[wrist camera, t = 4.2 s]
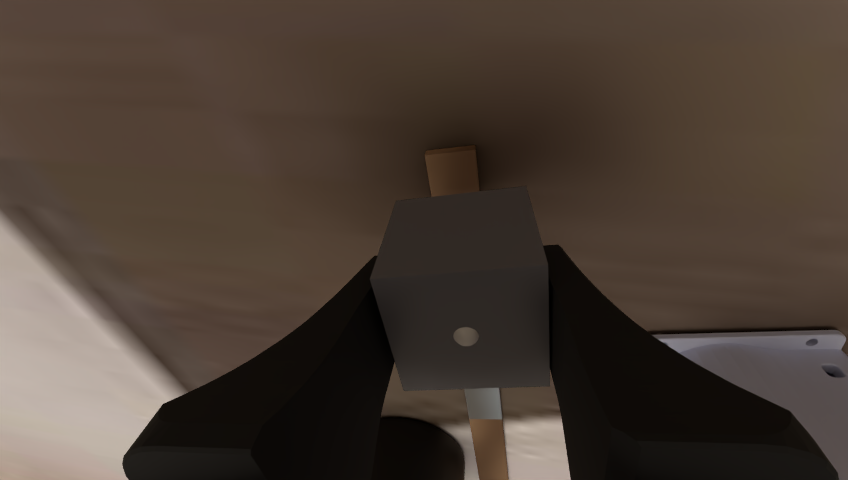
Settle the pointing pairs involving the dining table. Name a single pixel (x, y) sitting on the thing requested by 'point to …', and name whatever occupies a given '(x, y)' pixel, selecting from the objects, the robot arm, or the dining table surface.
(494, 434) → the wooden stick
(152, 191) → the dining table surface
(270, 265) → the dining table surface
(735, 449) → the robot arm
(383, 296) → the die
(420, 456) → the mug
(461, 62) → the dining table surface
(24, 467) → the dining table surface
